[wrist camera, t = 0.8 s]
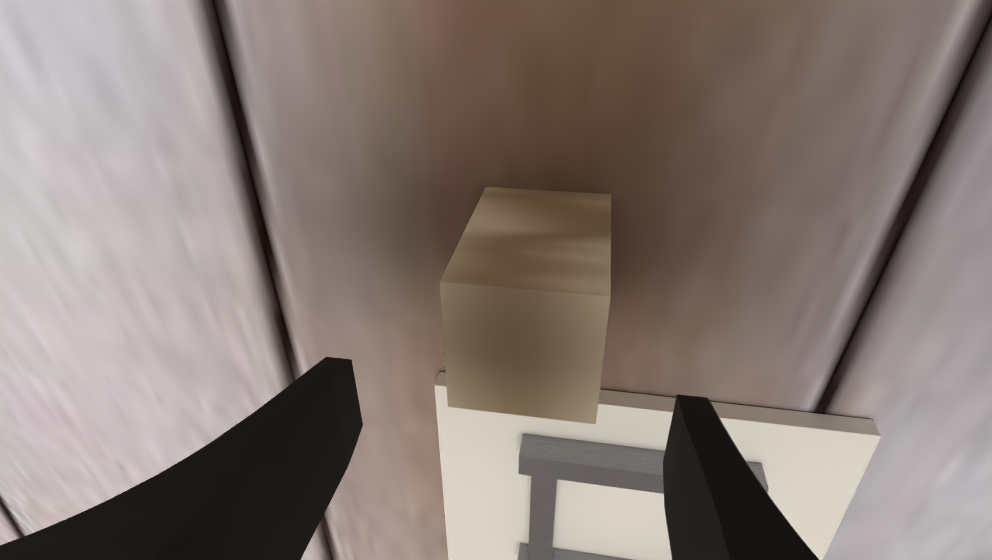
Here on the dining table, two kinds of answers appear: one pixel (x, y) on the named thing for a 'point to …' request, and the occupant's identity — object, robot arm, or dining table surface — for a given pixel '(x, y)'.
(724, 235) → the dining table surface
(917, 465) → the dining table surface
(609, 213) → the birch block
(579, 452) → the socket board
